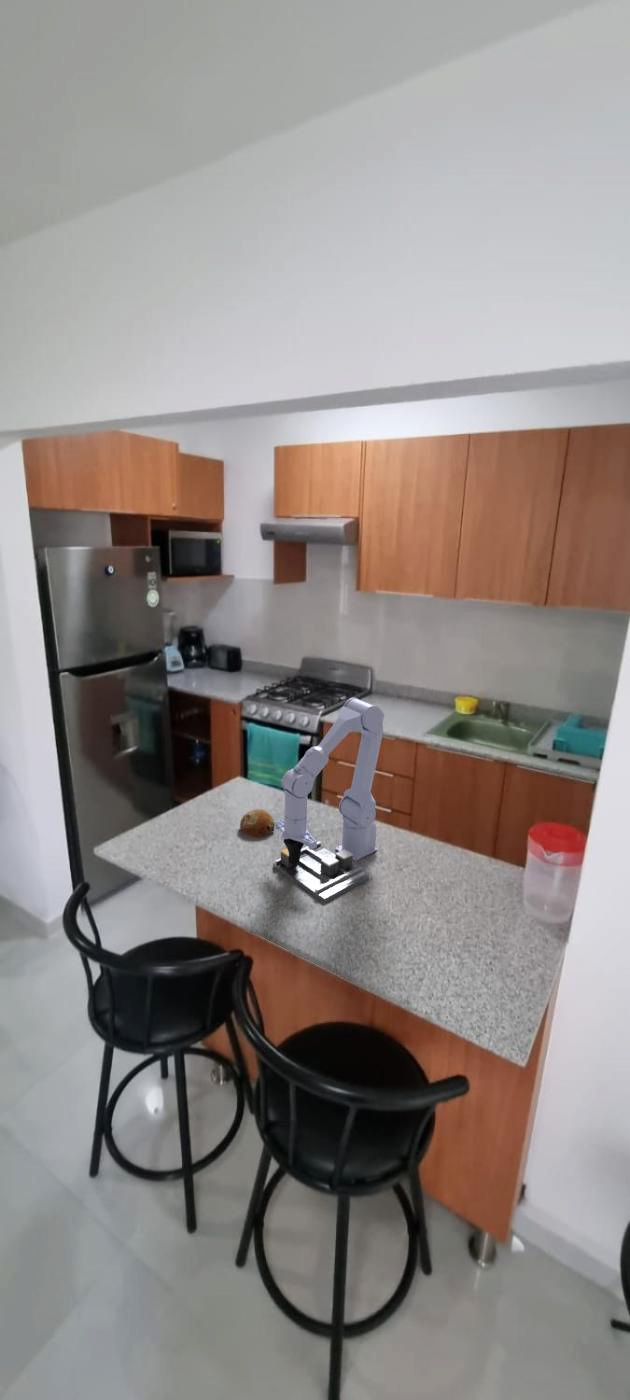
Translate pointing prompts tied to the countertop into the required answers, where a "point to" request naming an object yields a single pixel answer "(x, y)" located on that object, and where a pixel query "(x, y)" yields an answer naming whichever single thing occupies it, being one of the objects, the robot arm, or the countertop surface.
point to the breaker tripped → (285, 858)
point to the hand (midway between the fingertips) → (294, 862)
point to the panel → (321, 874)
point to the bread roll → (257, 823)
